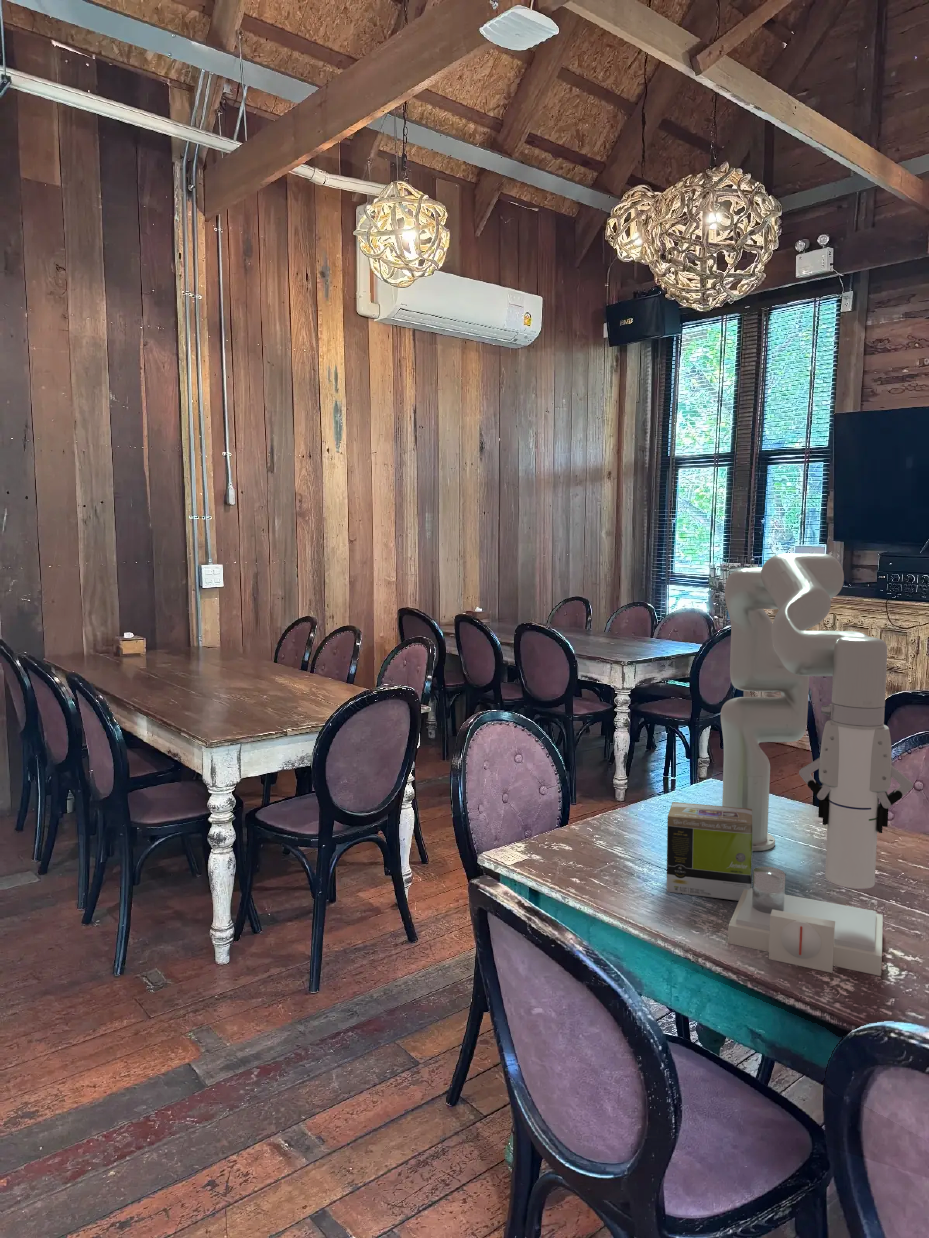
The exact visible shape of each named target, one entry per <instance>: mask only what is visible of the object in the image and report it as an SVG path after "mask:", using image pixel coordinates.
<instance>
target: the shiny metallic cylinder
mask: <svg viewBox="0 0 929 1238" xmlns="http://www.w3.org/2000/svg"><path fill="white" fill-rule="evenodd" d="M752 889H753V893H752V907H753V908H754V909H756V910H758V911H760V912H763V913H768V914H771V912H772V909H773V910H778V911H784V898H785V895H786V891H785V890H786V873H785V871H784V870H781V869H779V868H777V867H772V866H757V867H754V868H753V869H752Z"/></svg>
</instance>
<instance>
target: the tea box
mask: <svg viewBox="0 0 929 1238" xmlns="http://www.w3.org/2000/svg"><path fill="white" fill-rule="evenodd" d="M667 814H668V815H667V822H666V823H667V824H666V825H667V826H666V828H667V831H666V832H667V833H666V835H667V836H666V838H667V839H666V840H667V841H666V892H668V893H674V894H675V893H676V894H681V893H682V895H689V896H690V895H691V896H699V897H707V898H712V899H713V898H714V899H722V900H723V899H724V900H730V901H738V902H739V900H740V897H741V895H742V893H743V891H744V889H746V890H749V888H753V851H752V839H753V828H752V809H748V808H736V807H725V806H722V805H711V804H699V803H688V802H678V801H677V802H676V801H672V802H671V805H670V808H669V812H668V813H667Z"/></svg>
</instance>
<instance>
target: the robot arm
mask: <svg viewBox="0 0 929 1238" xmlns="http://www.w3.org/2000/svg"><path fill="white" fill-rule="evenodd" d="M844 580H845V575H844V570H843V567H842V564H841V563H840V562H839V560H838V559H837V558H836V557H834V556H833V555H831V554H828V553H793V552H792V553H791V552H790V553H780V554H775V555H773V556H771V557H770V558H768V559H767V560H766V561H765V562H764V564H763V565H762V567H746V568H741V569H740V568H739V569H736V570H734V571H732V572H731V573H730V574H729V575H728V576H727V579H726V582H725V587H724V599H725V601H724V602H725V606H726V609H727V613H728V617H729V622H730V627H731V628H730V629H731V632H730V654H729V658H730V659H729V678H730V683H731V685H732V686H733V687H734V688H735V689H736V690H739V691H742V692H744V691H745V692H758V693H759V692H760V693H762V692H768V693H769V692H771V693H773V692H774V693H777V692H779V693H780V696H779V697H778V696H777V697H776V696H775V697H774V696H773V697H771V696H765V697H764V696H739V697H733V698H731V699H728V700H726V701H725V702H724V704H723V705H722V707H721V709H720V724H721V725H720V726H721V731H722V739H723V740H722V741H723V742H722V743H723V766H722V767H723V768H722V769H723V774H722V799H721V800H722V802H721V803H722V805H721V806H725V807H736V808H748V809H752V828H753V839H752V852H762V851H763V852H764V851H767V850H771V849H773V848H774V846H775V845H776V839H775V837H774V836H772V834H770V833H769V832H768V830H769V828H768V827H769V808H770V807H769V806H770V805H769V803H770V783H771V781H770V779H771V776H770V775H771V764H770V760H769V758H768V756H767V755H766V753H765V751H764V750H762V748H761V747H760V745H759V744H760V743H789V742H790V743H793V742H797V741H799V740H801V739H802V738H803V737H804V735H805V733H806V731H807V726H808V711H809V693H810V691H809V690H810V677H832V687H831V688H832V690H831V703H829V704H827V705H821V707H820V708H821V709H820V714H822V715H826V716H828V717H829V718H830V719H829V720H827V721H826V722H825V724H824V728H823V731H822V735H821V736H822V737H821V743H820V754H819V757H818V758H816V759H814V761H811V762H810V763H808V764H806V765H805V766H803V767H802V768H800V769H799V771H798V775H799V776H800V778H802V781H804V783H806V785H807V787H808V788H809V790H811V791H812V792H813V794H814V795H815V796H816V797H817V799H818V814H817V815H818V817H817V818H820V819H821V818H822V826H827V824H828V805H829V791H830V788H831V787H838V771H839V731H838V726H840V727H846V728H851V729H862V730H866V729H867V730H875V732H874V738H873V744H872V754H871V771H870V791H871V792H876V793H877V796H878V798H879V806H878V825H877V833H878V834H883V827H884V828H888V826H889V825H888V824H889V809H890V808H891V807H892V806H893V805H894V804H895V803H897V802H899V801H900V800H901V799H902V798H903V796H905V795H906V794H907V793H909V792H910V791H911V790H912V789H913V788H914V784H913V782H912V781H911V780H910V779H909V778H908V777H907V776H905V775H904V774H903V773H902V772H901V771H899V769H897V768H896V767H895V766H894V765H893V764H892V739H891V738H892V737H891V733H890V728H889V726H887V725H886V724H885V709H886V708H885V707H886V689H887V687H886V686H887V669H888V645H887V643H886V642H885V640H883V639H881V638H878V637H874V636H873V637H872V636H869V635H867V634H866V633H864V632H861V631H854V630H853V631H852V630H808V629H812V628H813V627H815V626H816V625H819V624H820V623H821V622H822V621H823V620H825V618H826V617H827V616H828V615H829V613H830V611H831V606H832V601H831V600H832V599H833V598H835V597H836V596H837V595H838V594H839V593H840V592H841V590H842V589H843V586H844ZM765 610H778V611H777V612H776V614H775V616H774V618H773V621H772V620H771V618H770V616H769V615H768V613H767V612H766V611H765ZM817 770H818V778H819V779H818V780H819V782H818V781H817V780H816V779H815V778H814V777H813V776H812V773H814V772H816V771H817ZM892 779H893V780H895V781H896V782H897V783H898V784H899V786H898V787H897V788H896V789H894V790H893V791H891V792H889V793H888V791H889V790H890V788H891V784H892ZM819 783H821V784H822V785H821V784H819Z"/></svg>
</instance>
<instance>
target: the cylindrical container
mask: <svg viewBox="0 0 929 1238" xmlns="http://www.w3.org/2000/svg"><path fill="white" fill-rule="evenodd" d="M838 731H839V771H838V787H831V788H830V791H829V793H828V797H829V805H828V824H826V826H827V827H826V846H825V847H826V848H825V849H826V850H825V851H826V852H825V871H824V876H825V879H826V880H827V881H829V882H830V883H832V884H833V885H837V886H840V887H844V888H848V889H858V890H863V889H865V890H866V889H870V888H873V887H874V886H875V884H876V869H877V867H876V865H877V863H876V862H877V847H878V845H877V844H878V832H877V825H878V806H879V804H880V800H879V798H878V796H877V793H876V792H871V791H870V771H871V754H872V744H873V738H874V732H875V730H867V729H866V730H862V729H851V728H846V727H840V726H838Z"/></svg>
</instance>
